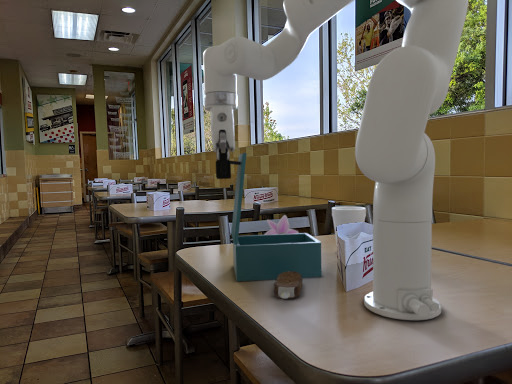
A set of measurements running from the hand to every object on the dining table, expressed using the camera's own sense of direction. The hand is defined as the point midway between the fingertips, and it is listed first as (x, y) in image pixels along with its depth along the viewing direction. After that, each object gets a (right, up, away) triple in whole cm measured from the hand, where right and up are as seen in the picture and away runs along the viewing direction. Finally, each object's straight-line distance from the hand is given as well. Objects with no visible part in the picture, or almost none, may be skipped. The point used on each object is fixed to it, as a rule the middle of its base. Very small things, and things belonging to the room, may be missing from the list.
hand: (223, 178), depth 88 cm
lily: (+16, -21, +27) cm, 38 cm away
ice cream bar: (+14, -24, -13) cm, 30 cm away
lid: (+4, -4, +1) cm, 6 cm away
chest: (+12, -22, +3) cm, 26 cm away
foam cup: (+34, -21, +20) cm, 45 cm away
